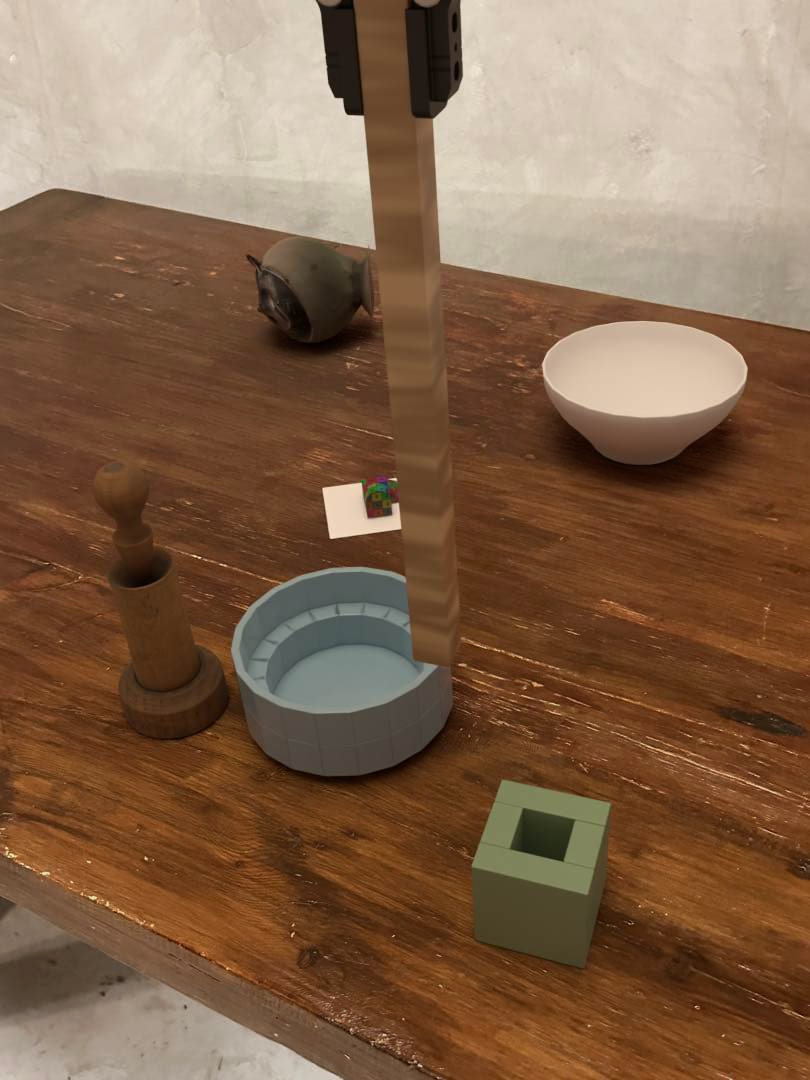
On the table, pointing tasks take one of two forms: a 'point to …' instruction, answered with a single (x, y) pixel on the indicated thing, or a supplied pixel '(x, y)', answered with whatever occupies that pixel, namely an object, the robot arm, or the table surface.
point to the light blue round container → (337, 674)
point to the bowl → (643, 387)
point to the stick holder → (541, 872)
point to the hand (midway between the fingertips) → (398, 109)
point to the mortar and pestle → (155, 621)
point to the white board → (362, 507)
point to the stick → (411, 325)
